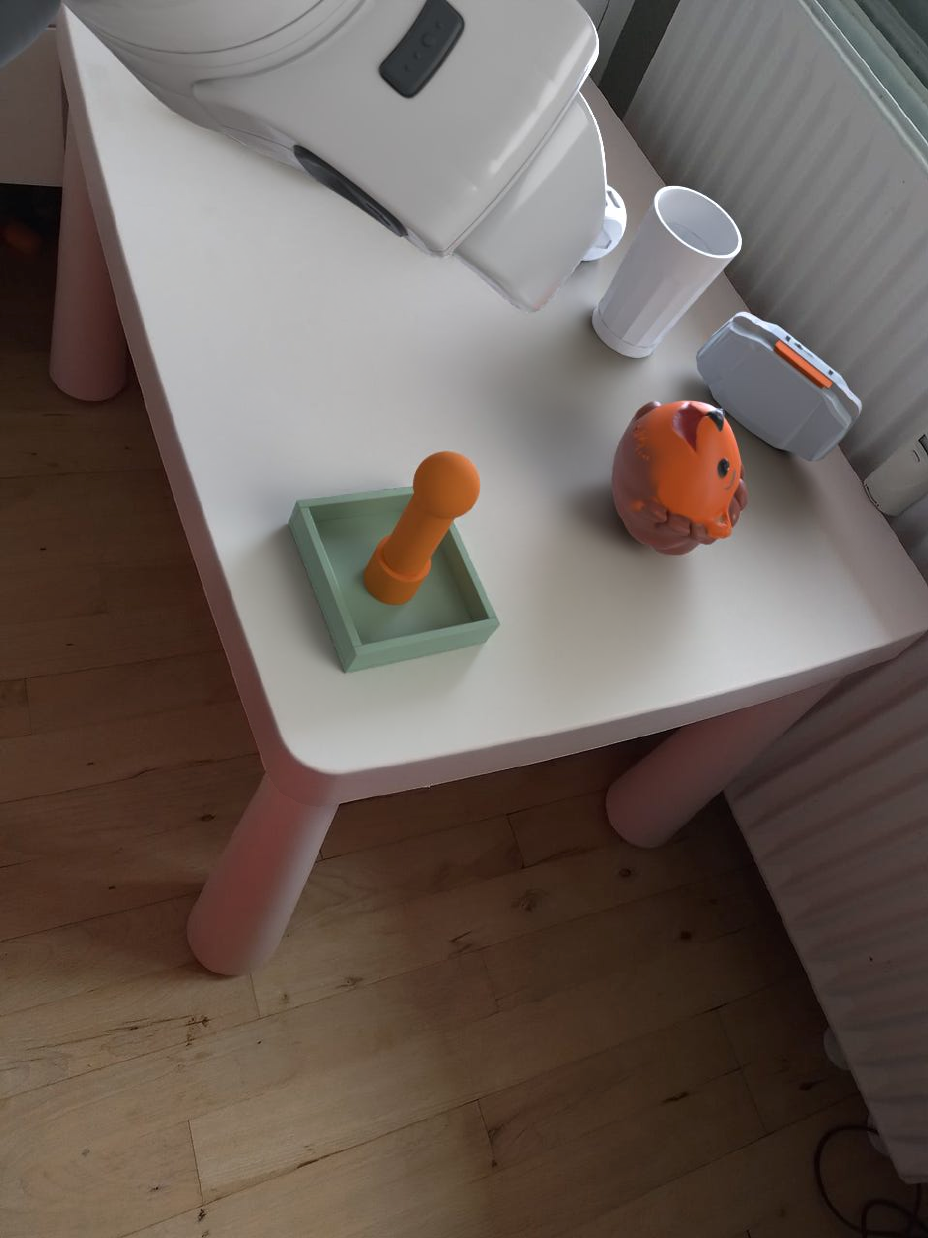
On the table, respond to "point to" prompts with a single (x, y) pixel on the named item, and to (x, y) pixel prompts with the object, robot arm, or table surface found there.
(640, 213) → the table surface
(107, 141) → the table surface
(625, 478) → the orange fox figurine
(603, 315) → the cup
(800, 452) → the gray clasp case
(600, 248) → the die
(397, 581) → the plug
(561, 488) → the table surface
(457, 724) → the table surface
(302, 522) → the basin
